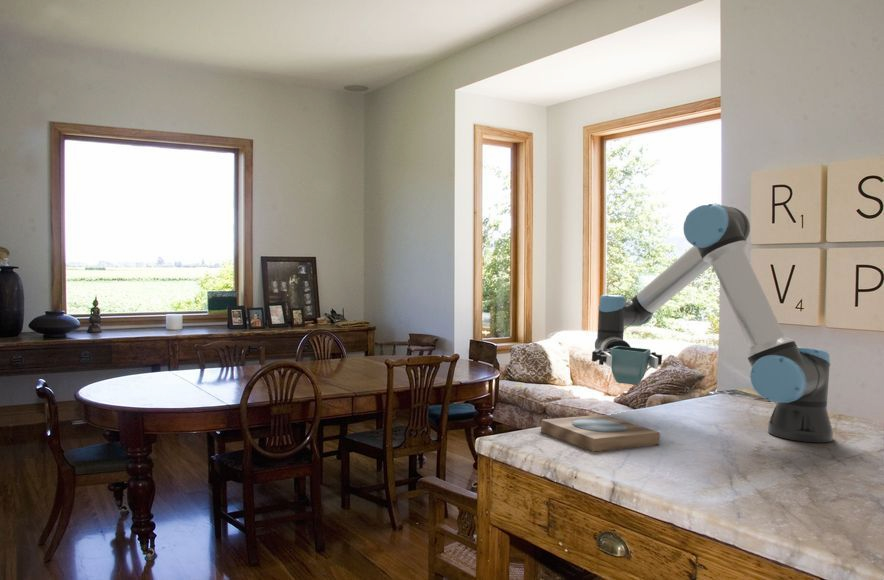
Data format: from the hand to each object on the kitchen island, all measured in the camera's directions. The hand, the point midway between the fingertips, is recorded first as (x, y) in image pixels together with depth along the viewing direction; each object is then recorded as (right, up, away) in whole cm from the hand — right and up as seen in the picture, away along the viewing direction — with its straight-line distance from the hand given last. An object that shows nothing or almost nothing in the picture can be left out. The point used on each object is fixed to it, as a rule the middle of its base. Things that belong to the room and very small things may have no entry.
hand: (633, 362), depth 175 cm
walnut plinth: (-10, -18, -5) cm, 21 cm away
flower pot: (0, -6, +4) cm, 7 cm away
